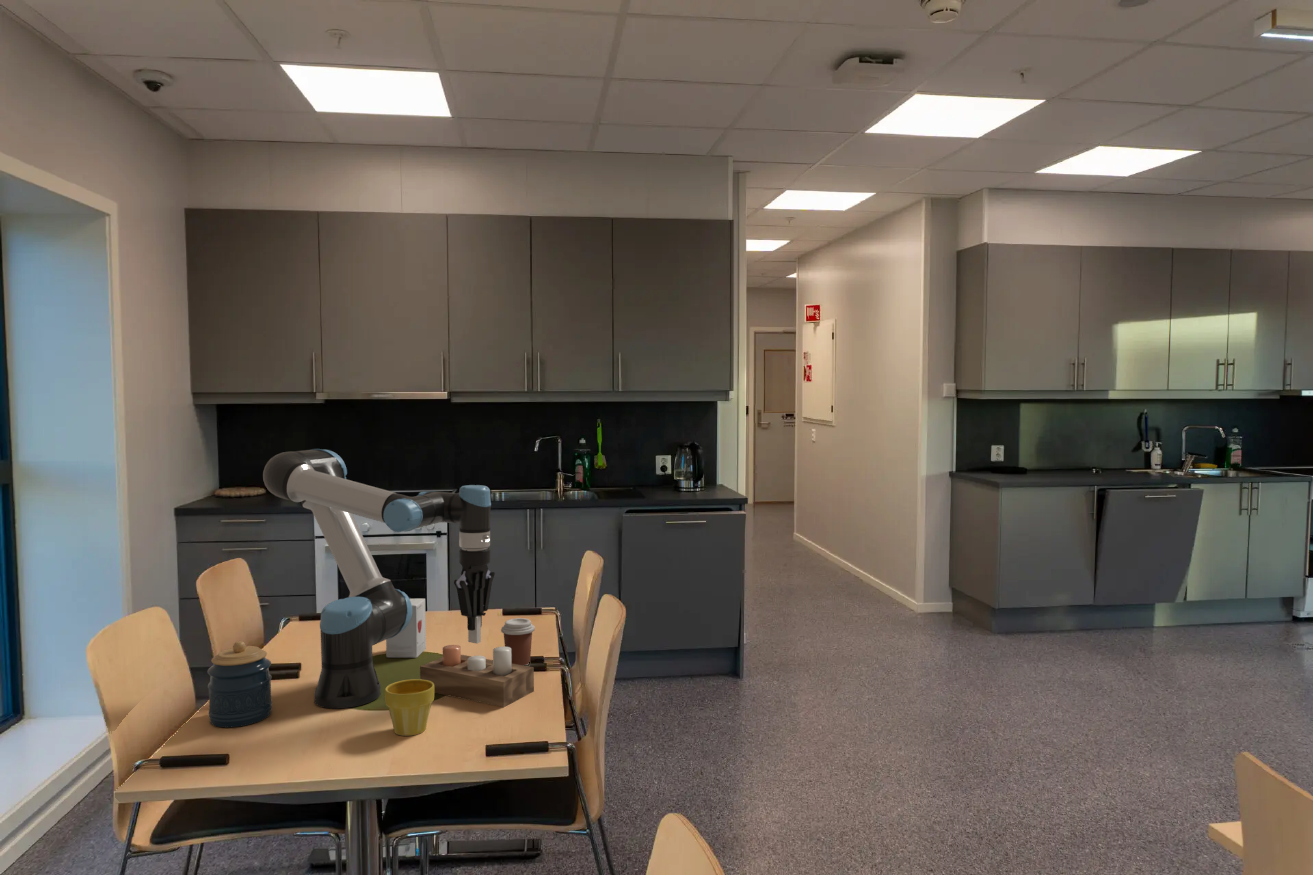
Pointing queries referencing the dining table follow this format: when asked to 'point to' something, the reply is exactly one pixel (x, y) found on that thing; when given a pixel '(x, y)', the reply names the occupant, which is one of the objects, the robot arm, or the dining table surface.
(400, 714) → the plant pot
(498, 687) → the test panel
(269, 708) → the canister
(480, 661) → the grey plug mid
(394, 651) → the supplement box
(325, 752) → the dining table surface
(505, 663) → the grey plug far
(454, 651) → the terracotta plug
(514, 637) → the coffee cup
